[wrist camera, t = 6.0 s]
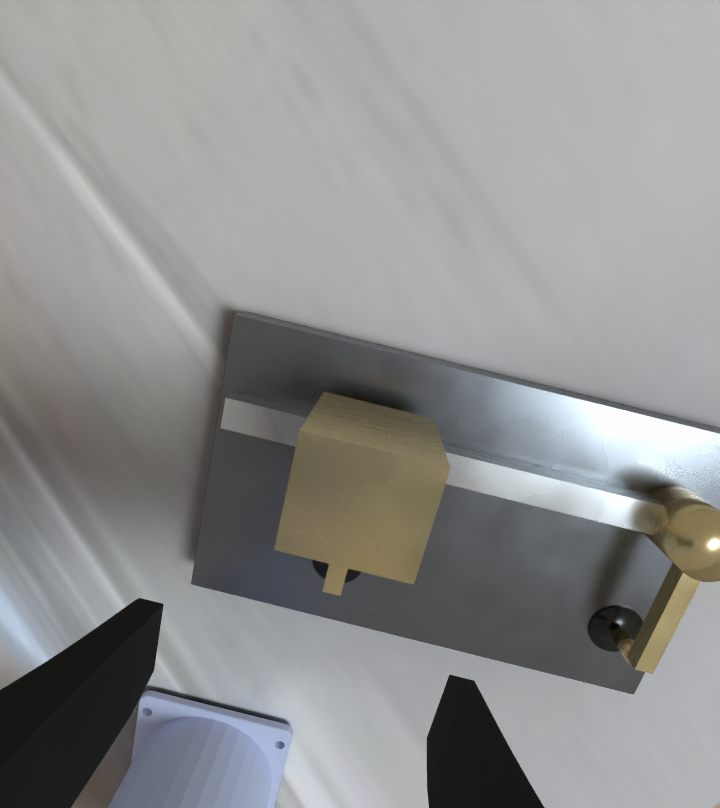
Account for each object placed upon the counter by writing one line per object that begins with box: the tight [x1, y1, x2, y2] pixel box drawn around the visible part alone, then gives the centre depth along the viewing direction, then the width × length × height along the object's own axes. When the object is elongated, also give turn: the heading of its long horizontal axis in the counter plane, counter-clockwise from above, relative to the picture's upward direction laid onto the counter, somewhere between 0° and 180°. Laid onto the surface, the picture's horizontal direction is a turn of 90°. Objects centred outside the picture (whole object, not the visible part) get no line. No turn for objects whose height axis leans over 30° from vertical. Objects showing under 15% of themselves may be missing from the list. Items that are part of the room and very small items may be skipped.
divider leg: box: [274, 392, 451, 596], centre depth 15 cm, size 8×4×5 cm, turn 167°
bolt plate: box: [191, 312, 720, 694], centre depth 18 cm, size 12×20×4 cm, turn 77°
